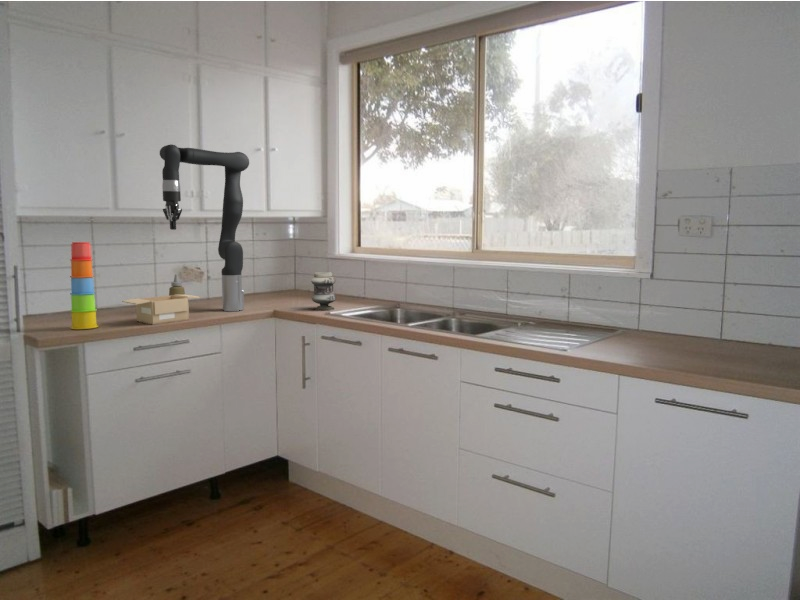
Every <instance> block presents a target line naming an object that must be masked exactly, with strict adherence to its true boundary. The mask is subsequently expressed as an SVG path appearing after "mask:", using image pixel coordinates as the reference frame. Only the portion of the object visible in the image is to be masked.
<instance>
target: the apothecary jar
mask: <svg viewBox="0 0 800 600" xmlns="http://www.w3.org/2000/svg"><path fill="white" fill-rule="evenodd" d="M310 281H311V284H312V285H313V294H312V295H311V301H312V302H313V303H316V304H319V305H317V306H316V307H314V308H313V309H316V310H315V311H320V310H324V311H332V310H335V307H333V306H332V305H329V304H332V303H334V302H335V301H336V300H337V295H336V294H335V293H334V291H335V290H334V284H336V281H337V279H336V278H335V277H334V276H333V273H332V272H331V271H329V272H328V271H324V272H323V271H321V272H320V271H319V272H314V275H313V277H312V278H311V280H310Z"/></svg>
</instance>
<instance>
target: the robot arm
mask: <svg viewBox="0 0 800 600" xmlns="http://www.w3.org/2000/svg"><path fill="white" fill-rule="evenodd" d="M159 156H160V158H161V159H162V160H163V161H164V166H163V168H162V172H161V173H162V186H161V187H162V188H161V189H162V201H163V202H165V206H164V207H165V208H163V209H162V212H163V215H164V217H165V219H166V220H167V221H168V222H169V228H170V231H171V230H172V231H175V230H177V221H178V220H180V217H181V214H182V212H183V209H182V208H180V204H179V202H181V200H182V198H181V195H182V194H181V183H180V182H181V181H180V166H181V164H180V163H182V164H183V163H185V164H188V165H189V164H190V165H198V166H217V167H224V189H223V199H222V200H223V201H222V216H221V227H220V228H221V230H220V237H219V242H218V247H217V251H218V255H219V257H220V259H222V260H224V266H223V268H222V269H221V290H222V291H221V294H222V311H223V310H224V311H223V312H239V310H240V311H243V309H244V310H245V291H244V289H243V283H242V282H243V281H242V280H243V279H242V270H243V267H244V250H243V246H242V244H241V243H239V242H238V241H235V240H236V233H237V232H236V231H237V229H238V226H239V224H240V222H241V219H242V216H243V211H244V210H243V209H244V199H243V198H244V197H243V193H242V190H241V173H242V172H243V171H246V170H247V168H249V166H250V159H249V157H248V155H247V154H245V153H244V152H241V151H235V152H223V151H213V150H208V149H207V150H206V149H201V148H200V149H199V148H194V147H179V146H177V145H176V144H173V143H172V144H171V143H170V144H167V145H164V146H162V147H161V148H160V149H159Z"/></svg>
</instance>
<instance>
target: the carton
mask: <svg viewBox="0 0 800 600" xmlns="http://www.w3.org/2000/svg"><path fill="white" fill-rule="evenodd" d="M139 299H143V300H149V301H150V302H147V303H142V304H135V306H136V307H135V308H136V309H135V310H136V321H139V322H138V323H142V322H143V324H147V323H148V324H147V325H151V324H152V326H155V325H163V324H171V323H178V322H186V321H185V320H187V321H190V309H189V298H186V297H179V296H173V295H170V296H169V295H164V296H163V295H162V296H151V297H142V298H140V297H139Z"/></svg>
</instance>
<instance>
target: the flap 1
mask: <svg viewBox="0 0 800 600" xmlns="http://www.w3.org/2000/svg"><path fill="white" fill-rule="evenodd" d="M147 302H150V301H149V300H143V299H140V298H130V299H124V300H122V302H121V303H124V304H125V303H126V304H131V305H136V304H142V303H147Z"/></svg>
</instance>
